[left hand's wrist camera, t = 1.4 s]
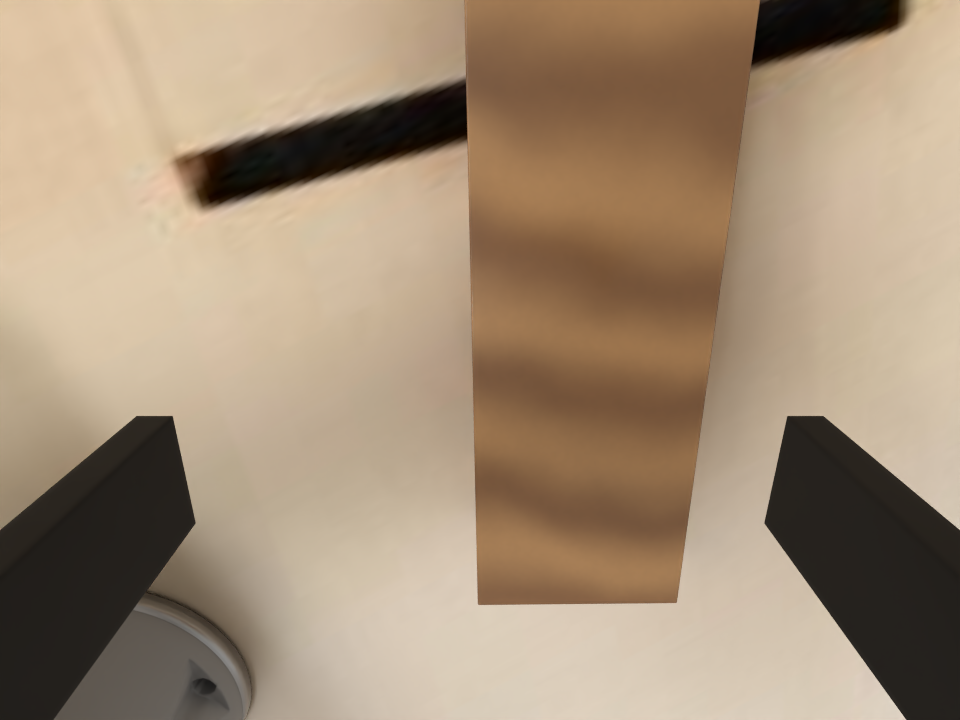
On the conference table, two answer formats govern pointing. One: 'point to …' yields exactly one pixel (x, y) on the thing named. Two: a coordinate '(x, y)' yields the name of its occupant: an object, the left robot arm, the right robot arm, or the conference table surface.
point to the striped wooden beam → (595, 282)
